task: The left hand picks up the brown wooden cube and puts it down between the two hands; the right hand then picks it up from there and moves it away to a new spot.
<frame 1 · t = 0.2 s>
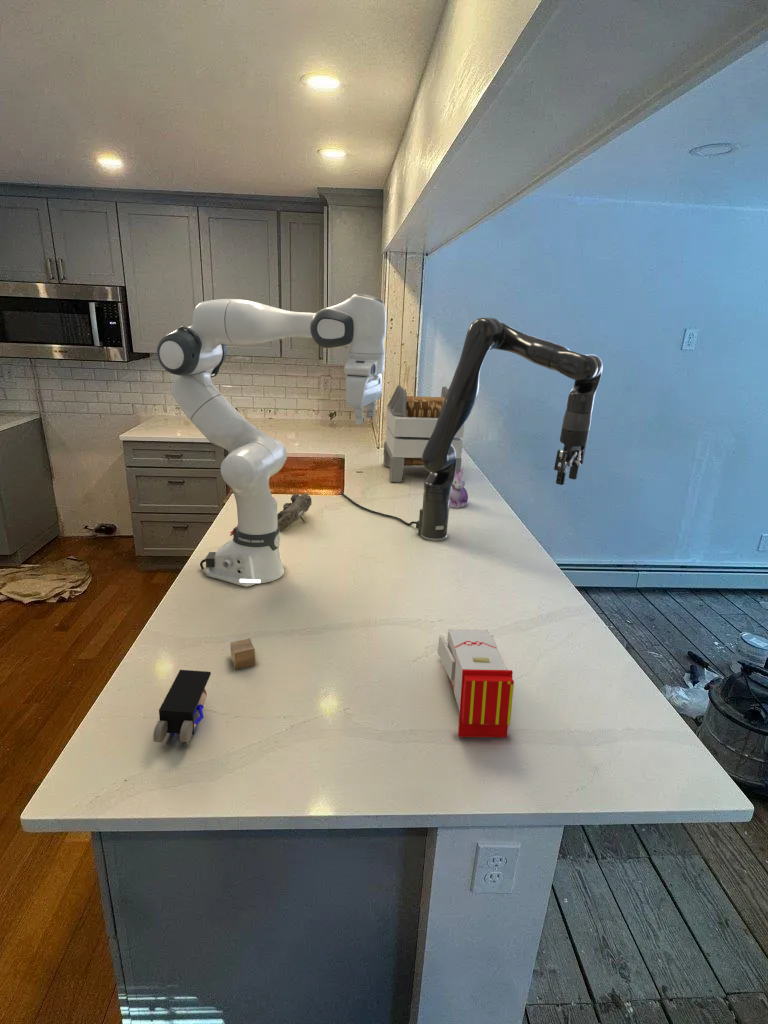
left hand: (364, 420, 144), 48 cm above the counter, tool pointing down, fingers open, 8 cm apart
right hand: (566, 481, 167), 29 cm above the counter, tool pointing down, fingers open, 8 cm apart
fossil: (294, 521, 207), on the counter
figurine character: (186, 726, 106), on the counter
figurine: (457, 505, 232), on the counter
brown wooden cube: (243, 661, 125), on the counter
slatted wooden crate: (419, 473, 275), on the counter
toy: (469, 691, 119), on the counter
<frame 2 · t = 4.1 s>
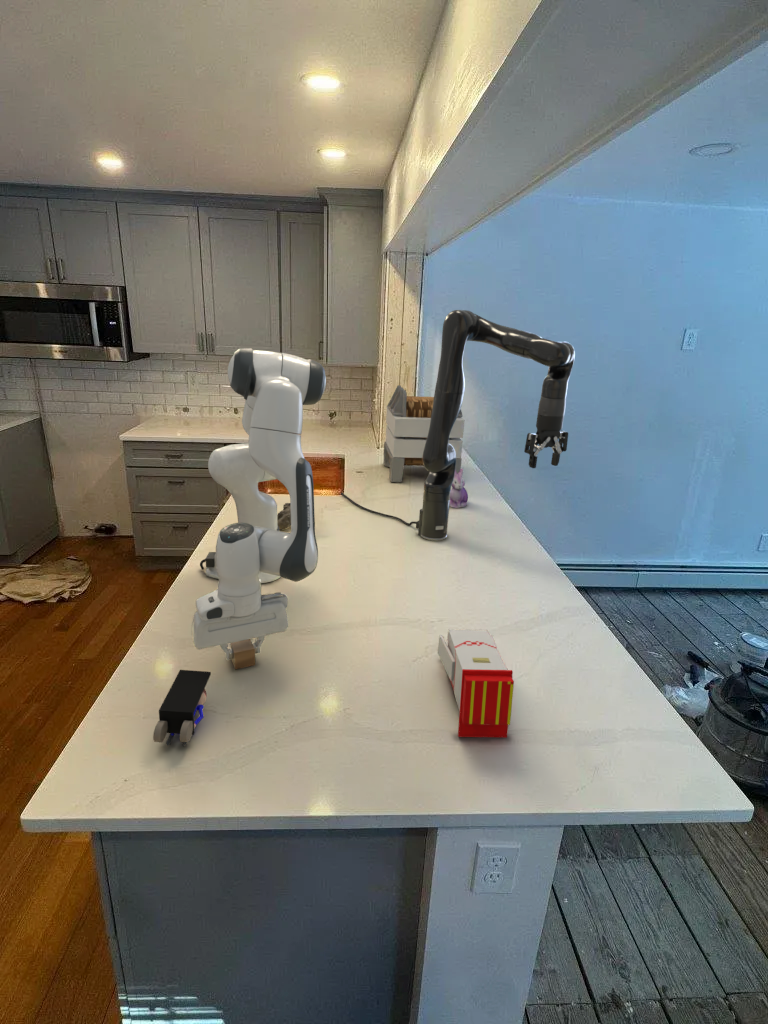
left hand: (242, 655, 124), 2 cm above the counter, tool pointing down, fingers closed on brown wooden cube, 4 cm apart
right hand: (543, 466, 171), 32 cm above the counter, tool pointing down, fingers open, 8 cm apart
brown wooden cube: (243, 661, 125), on the counter, touching left hand
everything else where it was.
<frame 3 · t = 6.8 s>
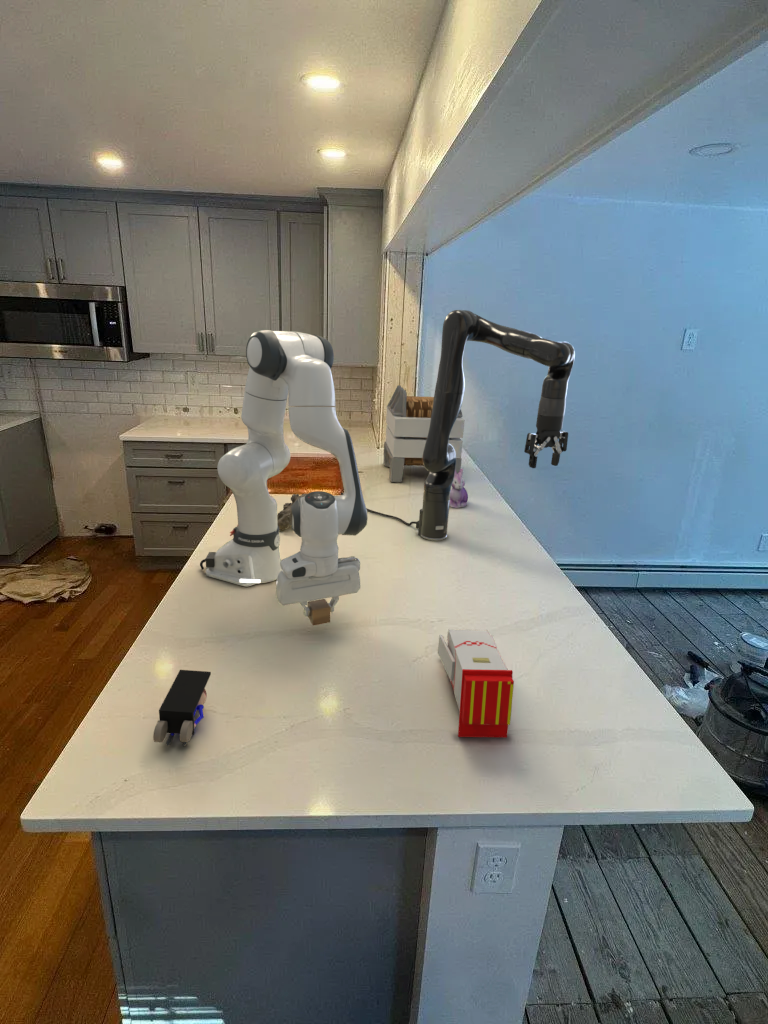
left hand: (318, 613, 137), 5 cm above the counter, tool pointing down, fingers closed on brown wooden cube, 4 cm apart
right hand: (543, 466, 171), 32 cm above the counter, tool pointing down, fingers open, 8 cm apart
brown wooden cube: (318, 619, 138), point 3 cm above the counter, touching left hand
everything else where it was.
when the left hand's fingers open (2 cm above the counter, at t = 9.7 s): brown wooden cube stays where it is, on the counter.
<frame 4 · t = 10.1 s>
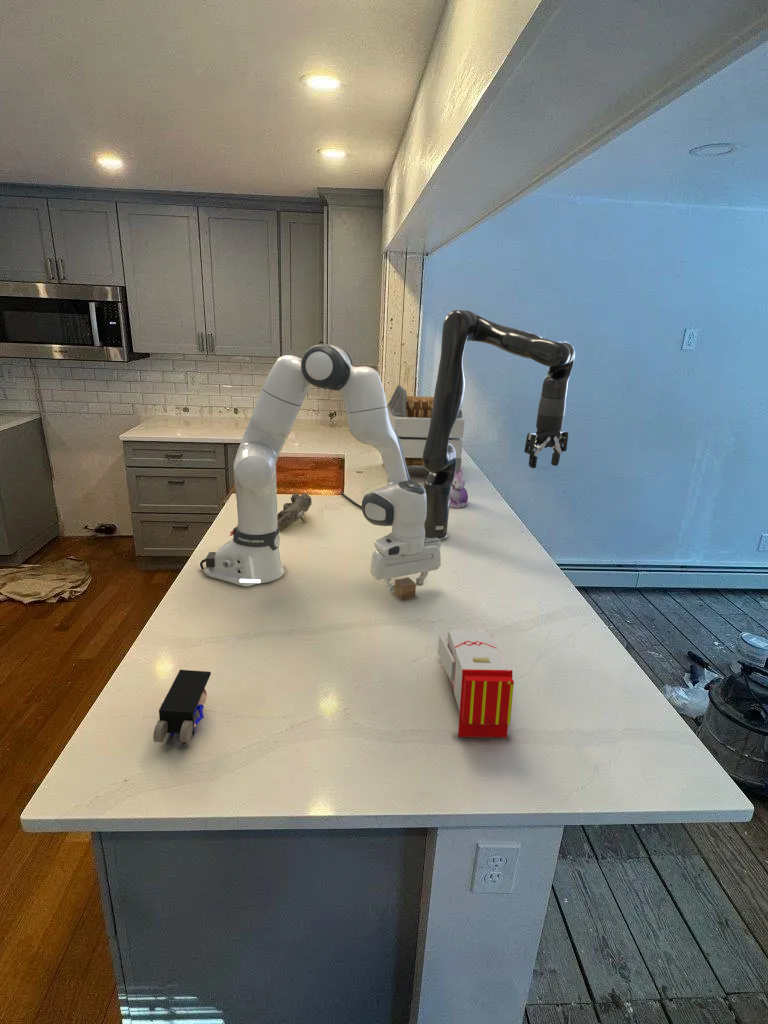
left hand: (405, 587, 157), 2 cm above the counter, tool pointing down, fingers open, 8 cm apart
right hand: (543, 466, 171), 32 cm above the counter, tool pointing down, fingers open, 8 cm apart
brown wooden cube: (404, 595, 157), on the counter
everything else where it was.
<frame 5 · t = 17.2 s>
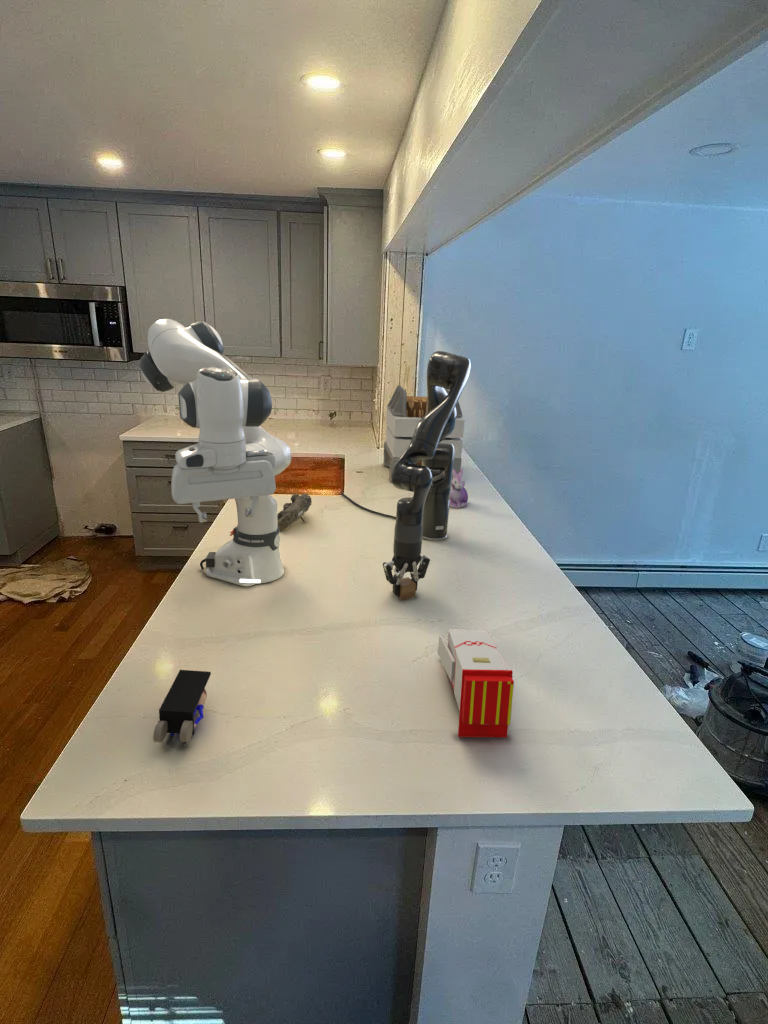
left hand: (226, 518, 116), 33 cm above the counter, tool pointing down, fingers open, 8 cm apart
right hand: (404, 593, 157), 1 cm above the counter, tool pointing down, fingers closed on brown wooden cube, 4 cm apart
brown wooden cube: (404, 595, 157), on the counter, touching right hand
everything else where it was.
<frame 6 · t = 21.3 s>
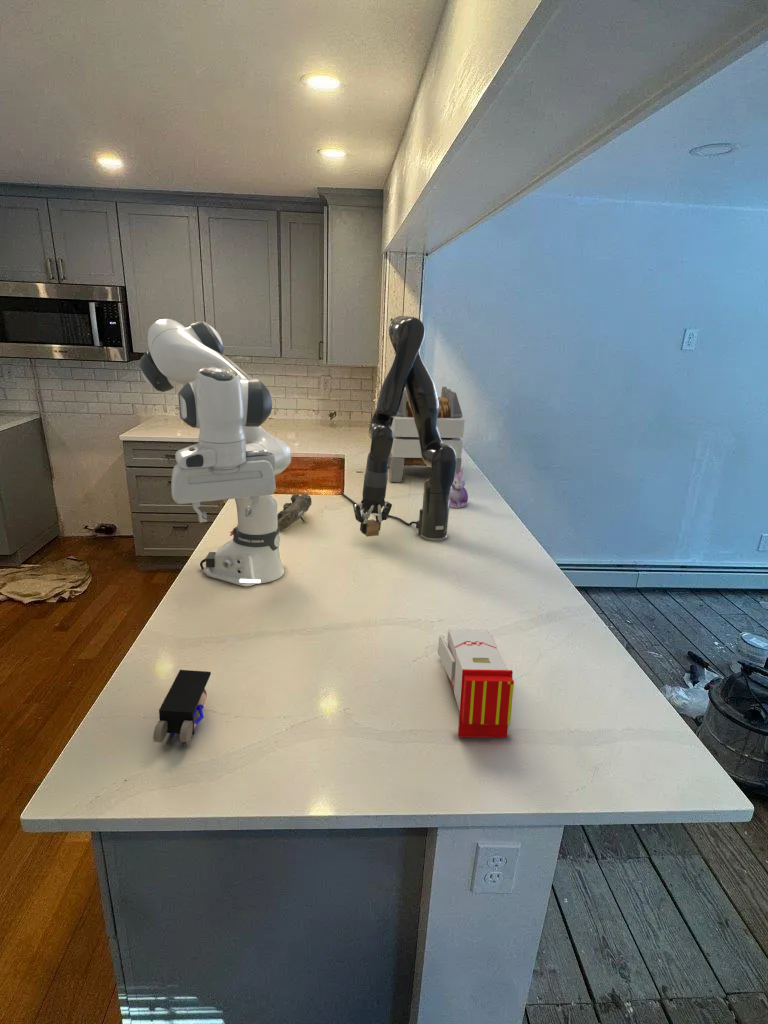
left hand: (226, 518, 116), 33 cm above the counter, tool pointing down, fingers open, 8 cm apart
right hand: (369, 532, 189), 4 cm above the counter, tool pointing down, fingers closed on brown wooden cube, 4 cm apart
brown wooden cube: (369, 533, 189), point 4 cm above the counter, touching right hand
everything else where it was.
when the right hand's fingers open (1 cm above the counter, at t = 25.6 s): brown wooden cube stays where it is, on the counter.
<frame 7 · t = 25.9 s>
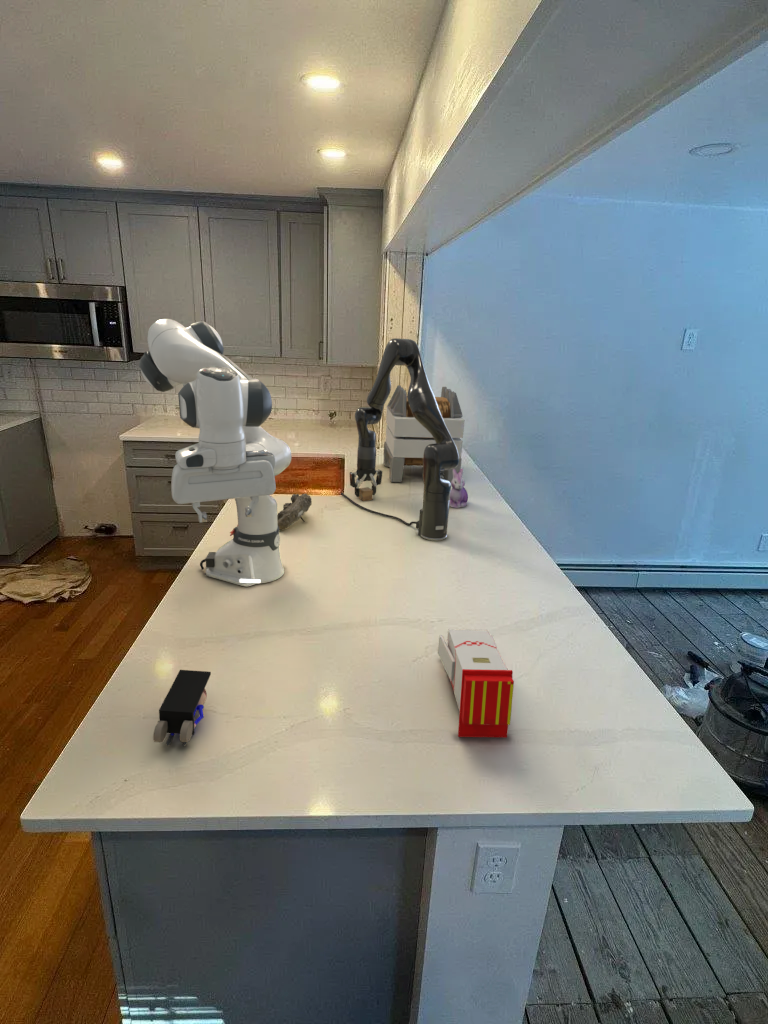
left hand: (226, 518, 116), 33 cm above the counter, tool pointing down, fingers open, 8 cm apart
right hand: (365, 495, 234), 1 cm above the counter, tool pointing down, fingers open, 6 cm apart
brown wooden cube: (365, 498, 235), on the counter
everything else where it was.
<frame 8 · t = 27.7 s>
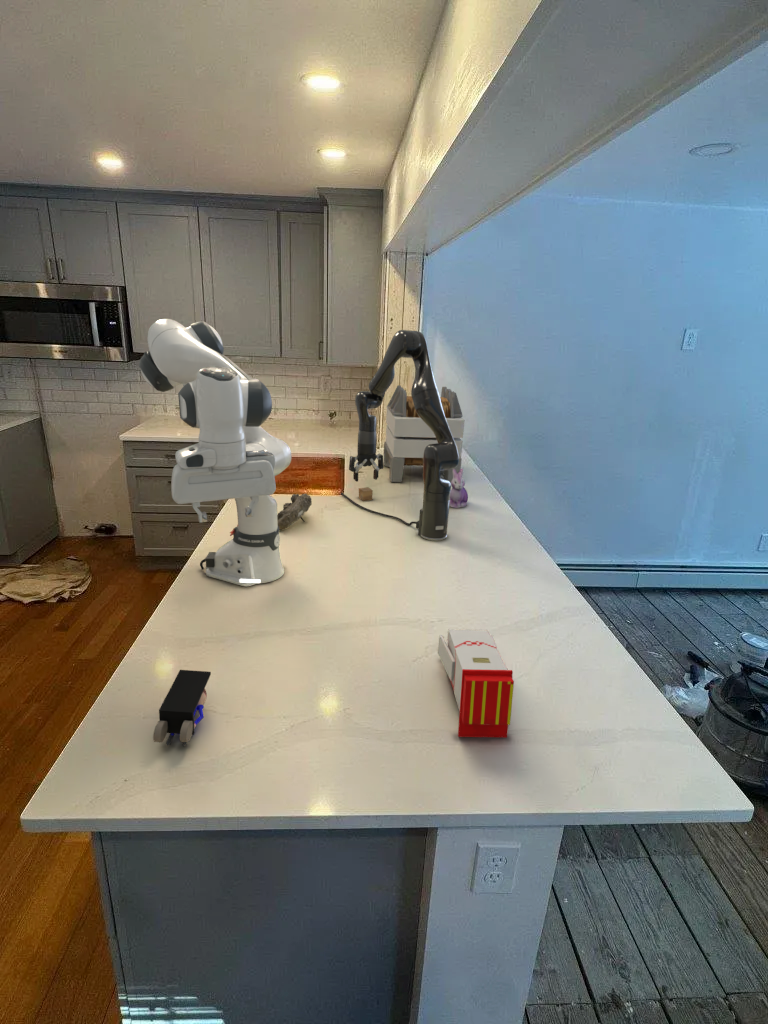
left hand: (226, 518, 116), 33 cm above the counter, tool pointing down, fingers open, 8 cm apart
right hand: (365, 480, 232), 8 cm above the counter, tool pointing down, fingers open, 8 cm apart
nothing on the counter moved.
at the end: brown wooden cube inside the target area (0.1 cm from its centre), on the counter; brown wooden cube tilted 0°; the two hands never held the brown wooden cube at the same time; the left hand is holding nothing; the right hand is holding nothing; brown wooden cube at rest at the end (0.0 cm/s) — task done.
